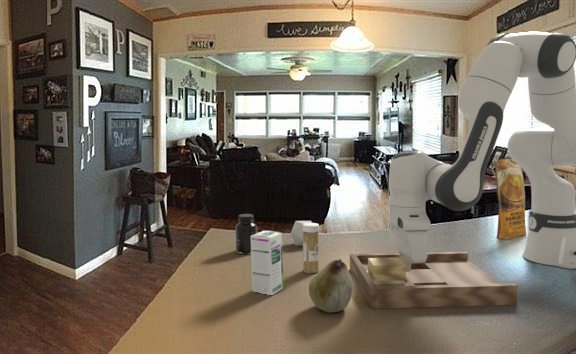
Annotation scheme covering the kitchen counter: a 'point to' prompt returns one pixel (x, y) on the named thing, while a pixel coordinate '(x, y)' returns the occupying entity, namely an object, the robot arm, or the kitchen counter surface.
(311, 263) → the sprinkles bottle
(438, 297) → the box
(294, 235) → the die
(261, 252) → the syrup box
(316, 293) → the fruit
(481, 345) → the kitchen counter surface
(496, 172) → the pancake mix bag
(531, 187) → the robot arm
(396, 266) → the maple block
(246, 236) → the supplement bottle
